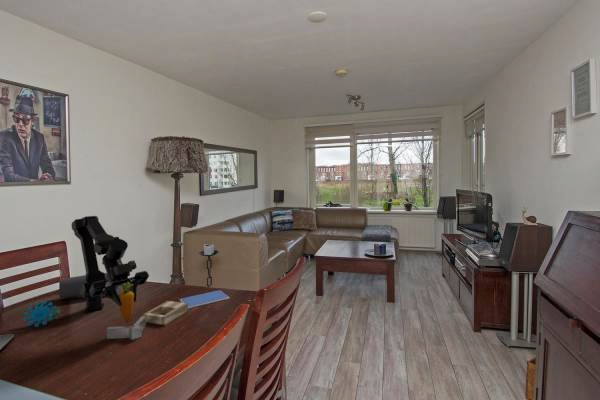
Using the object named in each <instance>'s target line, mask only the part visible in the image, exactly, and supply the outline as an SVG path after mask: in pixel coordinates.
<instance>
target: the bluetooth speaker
mask: <svg viewBox="0 0 600 400" xmlns="http://www.w3.org/2000/svg"><path fill="white" fill-rule="evenodd" d="M104 274H105V279H106V280H107V282H110V280H109V277H107V276H106V275H107V272H104ZM84 277H85V275H78V276H70V277H65V278H61V279H59V281H58V284H59V285H58V287H59V288H58V295H59V298H60V299H63V298H64V299H65V298H67V299H68V298H74V297H76V299H82V298H83V297H82V296H81V295H80V289H81V287H82V284H83V279H84ZM115 288H116V290H118V289H119V286H116V287H115ZM102 294H103V293H102ZM83 299H84V298H83Z"/></svg>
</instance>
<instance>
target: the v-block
mask: <svg viewBox="0 0 600 400" xmlns="http://www.w3.org/2000/svg"><path fill="white" fill-rule="evenodd" d="M146 326H147V322H146V316H143V315H142V316H140V317H139V319H138V320H136V322H135V323H134V324H133V325H129V326H128V325H125V326H108V327H107V328H106V339H107V340H109V339H110V340H111V339H114V340H115V339H130V340H131V341H133V340H136V339H139V338H141V337H143V333H142V331H143V330H144V329H145V327H146Z"/></svg>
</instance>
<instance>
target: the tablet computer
mask: <svg viewBox="0 0 600 400" xmlns="http://www.w3.org/2000/svg"><path fill="white" fill-rule="evenodd" d="M229 299H230V297H229V296H228V295H227V294H225V293H224V292H223V291H222V290H213V291H209V292H206V293H202V294H196V295H191V296H187V297H183V298H179V302H180V303H188V310H189V309H193V308H197V307H202V306H205V305H210V304H212V303H218V302H221V301H226V300H229Z"/></svg>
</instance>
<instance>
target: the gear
mask: <svg viewBox="0 0 600 400" xmlns="http://www.w3.org/2000/svg"><path fill="white" fill-rule="evenodd" d="M40 304H41V305H40ZM40 304H39V302H35V303H34V304H33V305H34V309H33V306H29V307H27V311H25V312H24V313H23V316H24V318H23V321H24V323H27V325H28V326H29V327H31V326H32V325H34V327H35V328H38V327H39V326H40V324H42V326H46V325H47V323H48V322H47V318H48V321H49V322H52V321H53V320H54V319H55V320H57V319H58V316H59V315H60V314H61V310H60V309H58V310H57V305H53V302H51V301H50V302H48V304H47V301H46V300H42V302H41V303H40ZM55 310H56V311H55ZM28 311H30V312H31V313H28ZM28 317H30V318H28Z"/></svg>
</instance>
